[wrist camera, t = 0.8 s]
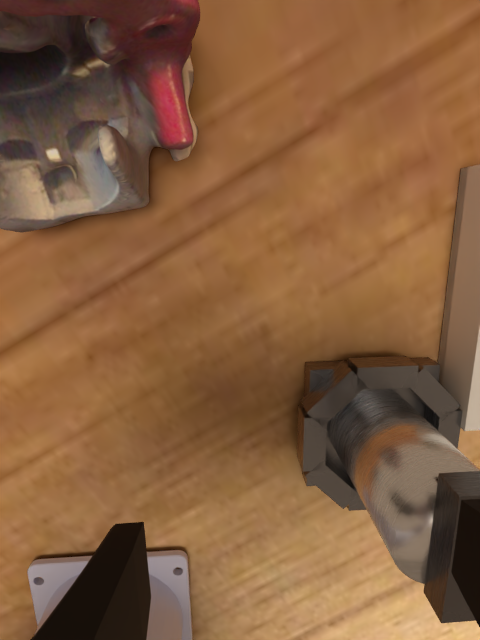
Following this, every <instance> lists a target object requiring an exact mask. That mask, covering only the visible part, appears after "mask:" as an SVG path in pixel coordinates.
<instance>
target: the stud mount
mask: <svg viewBox="0 0 480 640" xmlns="http://www.w3.org/2000/svg"><path fill="white" fill-rule="evenodd" d="M439 372H440V364H438V363H437V362H435V361H433V360H432V359H430V358H429V357H427V358H407V357H406V356H389V357H363V358H348V361H323V362H305V384H304V398H302V399H301V402H302V404H303V405H298V440H297V457H298V459H299V462H300V465H301V468H302V474H303V477H304V480H305V483H306V486H317V487H318V488H319V489H320V490H322V491H323V492H324V493H325V494H326V495H328V496H329V497H330V498H331V499H332V500H333V501H335V502H336V503H337V504H338V505H339V506H341V507H342V508H343V509H344V508H345V507H346V506H347V508H348V510H349V511H351V510H367V509H366V507H365V505H364V503H363V502H362V500H361V498H360V496H359V494H358V492H357V490H356V488H355V486H354V485H353V483H352V481H351V479H350V477H349V475H348V473H347V471H346V469H345V468H344V466H343V464H342V462H341V460H340V458H339V456H338V454H337V452H336V451H335V449H334V447H333V445H332V442H331V439H330V423H331V419H332V418H333V417H334V416H335V415H336V414H337V413H338V412H339V411H340V410H342V409H343V408H344V407H345V406H346V405H347V404H348V403H349V402H350V401H351V400H352V399H353V398H354V397H356V396H357V395H358V394H359V393H360V392H361V391H362V390H372V389H387V390H391V391H393V392H395V393H397V394H398V395H400V396H401V397H402V398H403V399H405V400H406V401H407V402H408V403H409V404H410V405H411V406H412V407H413V408H414V409H415V410H416V411H417V412H418V413H420V414H421V415H422V416H423V417H424V418H425V419H426V420H427V421H428V422H429V423H430V424H431V425H432V426H433V427H434V428H436V429H437V430H438V431H439V432H440V433H441V434H442V435H443V436H444V437H445V438H446V439H447V440H448V441H449V442H451V443H452V444H453V445H454V446H455V447H456V448H458V441H459V433H460V426H461V419H462V412H463V411H462V410H461V409H459V407H460V406H461V405H460V404H459V403H458V402H457V401H456V400H455V399H454V398H453V397H452V396H451V395H450V394H449V393H448V392H447V391H446V390H445V389H444V388H443V386H442V385H441V384H440V383H439V382H438V381H439Z"/></svg>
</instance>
